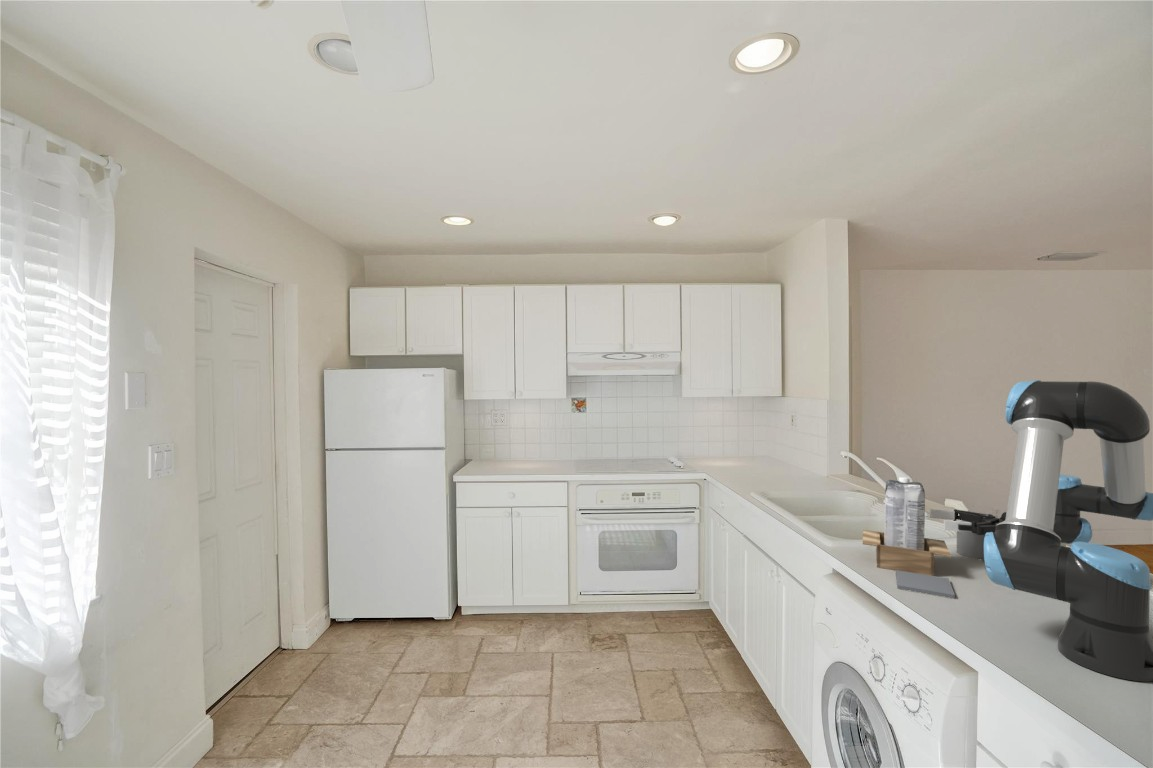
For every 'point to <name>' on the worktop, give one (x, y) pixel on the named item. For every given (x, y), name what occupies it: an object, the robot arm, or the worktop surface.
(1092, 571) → the robot arm
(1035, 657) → the worktop surface
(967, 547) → the coffee mug
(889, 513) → the juice carton
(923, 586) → the mat
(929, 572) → the crate
